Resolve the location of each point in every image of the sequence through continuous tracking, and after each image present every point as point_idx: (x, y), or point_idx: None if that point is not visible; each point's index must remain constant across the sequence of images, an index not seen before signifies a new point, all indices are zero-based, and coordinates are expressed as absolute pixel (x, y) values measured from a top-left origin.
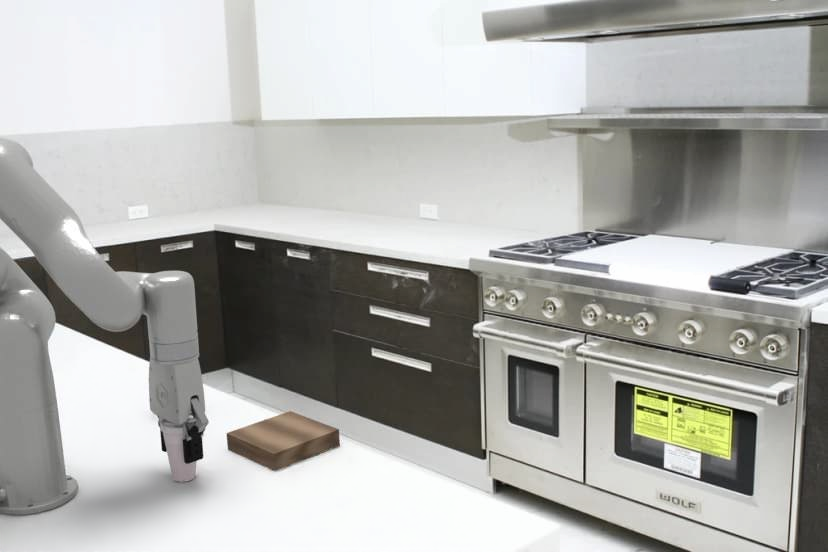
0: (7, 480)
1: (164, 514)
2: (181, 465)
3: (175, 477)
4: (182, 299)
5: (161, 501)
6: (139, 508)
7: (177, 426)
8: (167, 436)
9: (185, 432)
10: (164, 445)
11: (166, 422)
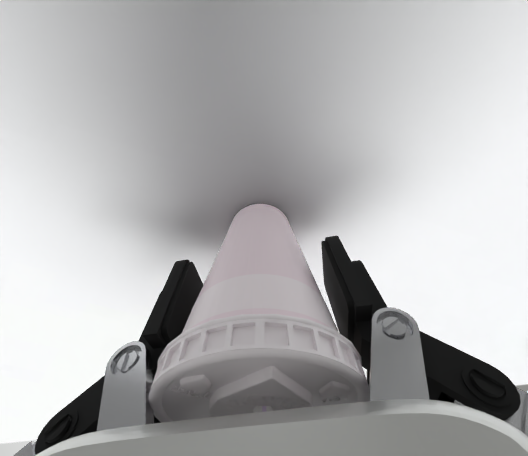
0: None
1: (37, 105)
2: (221, 245)
3: (245, 210)
4: None
5: (141, 130)
6: (114, 42)
7: (190, 392)
8: (224, 305)
9: (120, 384)
10: (328, 255)
11: (272, 381)
